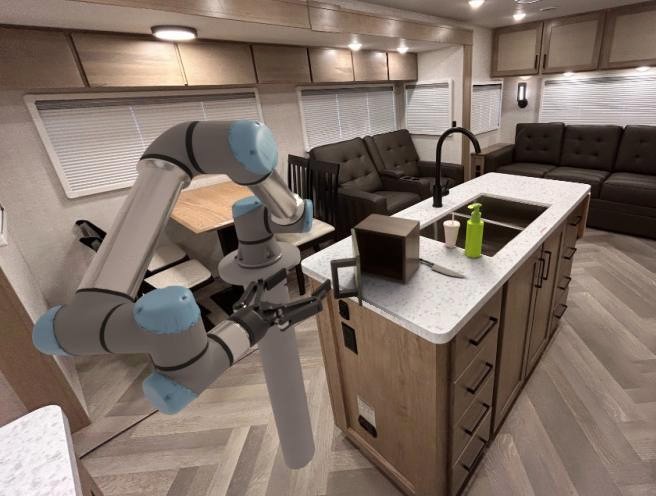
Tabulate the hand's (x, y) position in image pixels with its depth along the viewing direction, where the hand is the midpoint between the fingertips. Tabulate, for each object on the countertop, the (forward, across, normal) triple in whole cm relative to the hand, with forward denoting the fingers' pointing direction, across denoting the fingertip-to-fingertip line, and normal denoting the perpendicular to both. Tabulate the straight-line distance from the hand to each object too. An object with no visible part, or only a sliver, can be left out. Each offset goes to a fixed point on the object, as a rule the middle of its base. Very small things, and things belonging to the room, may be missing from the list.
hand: (306, 277), depth 80 cm
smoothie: (+58, +22, -15) cm, 64 cm away
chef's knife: (+39, +24, -14) cm, 48 cm away
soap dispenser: (+54, +32, -15) cm, 65 cm away
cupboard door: (+17, 0, -15) cm, 22 cm away
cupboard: (+33, +7, -15) cm, 37 cm away
